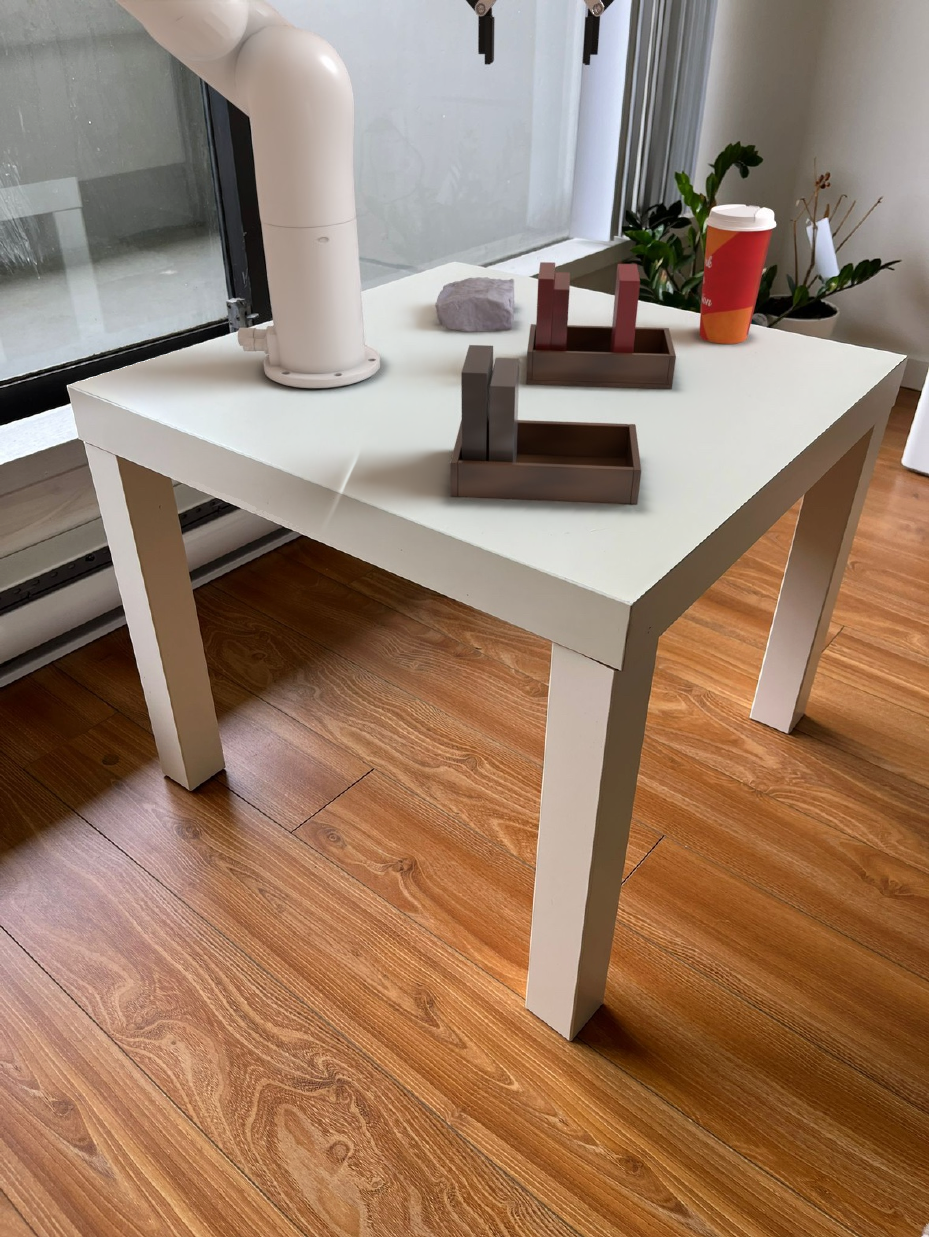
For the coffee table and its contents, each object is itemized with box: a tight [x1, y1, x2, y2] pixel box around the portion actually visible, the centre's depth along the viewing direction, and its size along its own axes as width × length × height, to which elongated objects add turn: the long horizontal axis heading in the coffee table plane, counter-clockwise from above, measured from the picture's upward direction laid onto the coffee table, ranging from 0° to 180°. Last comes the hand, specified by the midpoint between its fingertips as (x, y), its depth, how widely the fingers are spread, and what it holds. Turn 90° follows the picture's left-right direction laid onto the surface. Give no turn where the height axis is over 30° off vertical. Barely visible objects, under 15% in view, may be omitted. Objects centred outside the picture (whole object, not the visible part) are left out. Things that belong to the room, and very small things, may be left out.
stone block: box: [434, 276, 515, 333], centre depth 117 cm, size 12×5×10 cm
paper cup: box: [699, 203, 777, 345], centre depth 107 cm, size 8×8×14 cm
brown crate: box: [449, 344, 642, 506], centre depth 77 cm, size 15×9×10 cm, turn 84°
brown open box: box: [525, 261, 677, 390], centre depth 99 cm, size 15×9×10 cm, turn 84°
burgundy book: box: [610, 263, 641, 353], centre depth 98 cm, size 2×6×10 cm, turn 175°
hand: (537, 63), depth 93 cm, fingers open, 9 cm apart
